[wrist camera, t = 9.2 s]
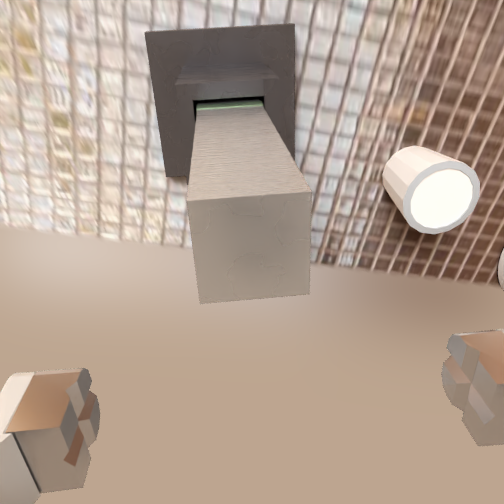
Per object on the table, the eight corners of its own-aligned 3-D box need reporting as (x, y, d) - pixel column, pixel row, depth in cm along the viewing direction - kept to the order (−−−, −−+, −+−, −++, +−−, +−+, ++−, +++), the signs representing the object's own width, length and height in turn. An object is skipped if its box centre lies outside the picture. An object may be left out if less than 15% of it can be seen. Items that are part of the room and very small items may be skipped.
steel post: (257, 95, 30) (313, 189, 14) (260, 154, 32) (310, 295, 16) (197, 99, 29) (184, 199, 14) (203, 158, 31) (198, 305, 16)
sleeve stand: (291, 23, 36) (325, 28, 26) (291, 162, 42) (319, 213, 32) (146, 31, 36) (120, 39, 25) (167, 171, 42) (153, 226, 31)
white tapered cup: (419, 213, 46) (452, 244, 40) (363, 192, 44) (388, 221, 38) (456, 153, 43) (497, 176, 37) (398, 129, 42) (430, 149, 35)
